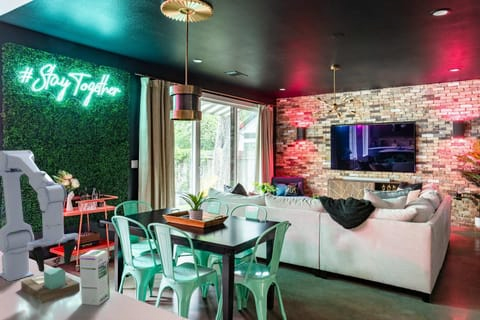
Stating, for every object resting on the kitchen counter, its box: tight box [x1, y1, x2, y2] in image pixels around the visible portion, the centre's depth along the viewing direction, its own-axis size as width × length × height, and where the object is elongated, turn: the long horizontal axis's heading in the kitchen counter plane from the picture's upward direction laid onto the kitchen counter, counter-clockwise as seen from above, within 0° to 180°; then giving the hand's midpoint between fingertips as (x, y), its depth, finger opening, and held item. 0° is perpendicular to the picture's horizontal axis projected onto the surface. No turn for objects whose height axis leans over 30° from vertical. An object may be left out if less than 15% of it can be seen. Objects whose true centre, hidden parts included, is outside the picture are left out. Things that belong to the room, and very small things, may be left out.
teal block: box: [43, 267, 66, 290], centre depth 111 cm, size 4×4×7 cm
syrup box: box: [79, 249, 111, 306], centre depth 105 cm, size 6×6×14 cm
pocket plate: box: [20, 274, 81, 304], centre depth 113 cm, size 16×11×3 cm
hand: (54, 267), depth 110 cm, fingers open, 7 cm apart
